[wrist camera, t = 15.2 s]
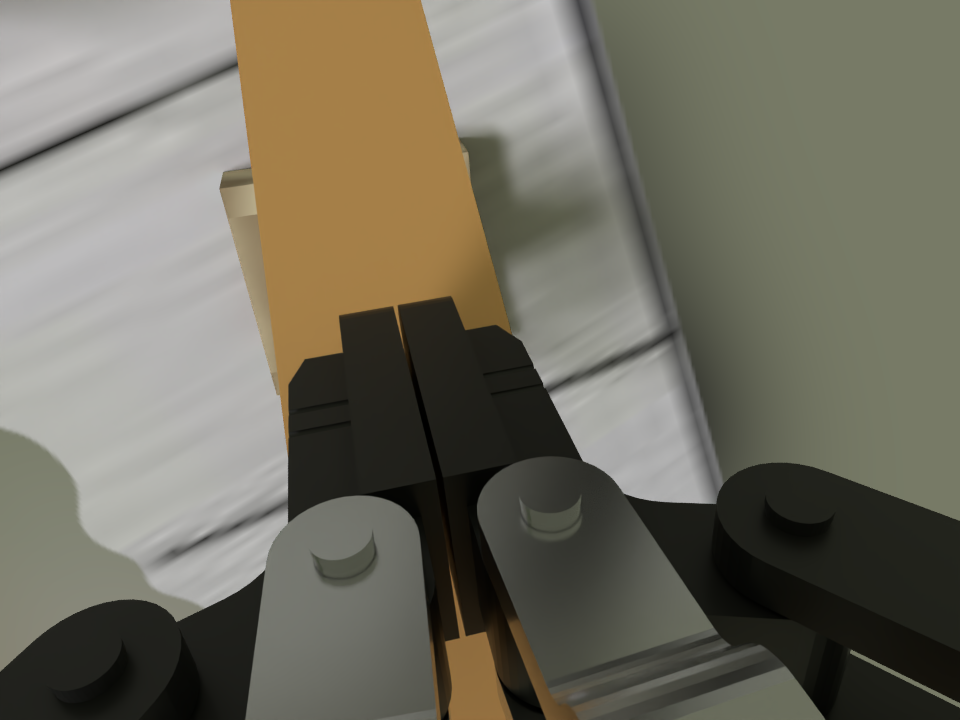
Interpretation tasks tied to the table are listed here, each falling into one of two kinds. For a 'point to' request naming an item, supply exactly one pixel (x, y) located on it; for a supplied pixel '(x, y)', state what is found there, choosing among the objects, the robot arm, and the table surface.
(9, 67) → the table surface
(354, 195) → the tan wooden bar
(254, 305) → the clamp rig
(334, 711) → the robot arm
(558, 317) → the table surface
